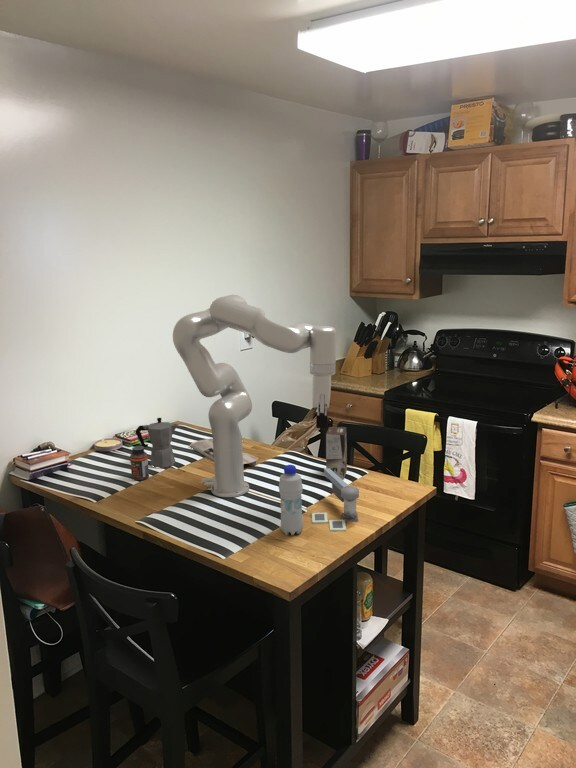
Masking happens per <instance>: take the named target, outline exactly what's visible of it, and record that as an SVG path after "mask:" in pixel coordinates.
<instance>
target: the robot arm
mask: <svg viewBox="0 0 576 768" xmlns="http://www.w3.org/2000/svg"><path fill="white" fill-rule="evenodd" d="M228 328H230V329H232V330H235V331H238V332H241V333H244V334H247V335H250V336H252V337H253V338H254V339H255V340H256V341H257V342H260V344H262V345H264V346H266V347H268V348H270V349H274V350H276V351H280V352H283V353H287V354H295V353H298V352H300V351H302V350H304V349H307V348H309V351H310V352H309V356H310V357H309V374H310V375H312V408H313V409H316V408H317V410H316V412H317V413H316V418H315V419H316V420H315V421H316V422H315V423H316V425H315V427H316V428H317V429H327V428H328V412H327V410H328V409H329V408H330V401H331V389H332V376H334V375H335V374H336V367H337V366H336V364H337V363H336V357H337V355H336V354H337V330H336V328H335V327H333V326H331V325H330V326H329V325H316V324H315V325H314V324H310V323H306V322H299V323H295V324H294V325H291V326H285V325H283V324H279V323H277V322H274V321H272V320H270V319H268V318H267V317H266V315H265V311H264V310H263V309H262V308H259V307H257V306H254V305H250V304H248V303H247V300H246V299H244V298H243V297H242V296H240V295H238V294H229V295H226V296H225V295H224V296H220V297H217V298H216V299H214V301H212V303H211V304H210V306H209V308H207V309H205V310H202V311H197V312H194V313H193V312H192V313H189V314H186V315H184V316H182V317H181V318H179V320H178V321H177V322H175V326H174V328H173V331H172V342H173V345H174V347H175V349H176V351H177V353H178V354H179V356H180V358H181V359H182V361H183V362H184V365H185V366H186V368H187V370H188V373H189V374H190V376H191V378H192V381H194V384H195V386H196V388H197V390H199V391H198V392H200V394H201V395H202V396H204V397H205V398H213V397H216V396H218V395H220V398H219V399H217V400H215V401H214V402H213V403H212V404H211V405H210V407H209V408H208V409H209V410H208V421H209V426H210V429H211V435H212V438H211V439H213V451H214V461H213V462H214V463H213V465H214V476H212V477H210V478H209V477H202V480H201V483H202V484H204V486H205V487H210V486H211V487H210V492H211V493H212V495H214V496H216V497H220V498H235V497H240V496H243V495H245V494H247V493H248V492H249V491H250V485H249V482H247V481H245V472H244V471H245V469H244V464H243V452H244V451H243V449H244V448H243V435H242V433H241V429H240V426H239V422H241V421H243V420H244V419H246V418H247V417H248V416H249V415H250V414H251V413H252V410H253V402H252V399H251V397H250V395H249V393H248V391H247V388H246V386H245V385H244V383H243V381H242V379H241V377H240V376H239V374H238V372H237V371H236V369H235V368H234V367H233V366H232V365H230V364H228V363H225V362H218V363H215V361H214V359H213V358H212V355H211V353H210V351H209V350H208V349H207V348H206V347H205V345H203V344H202V343H201V342H200V341H201V340H202V339H205V338H209V337H212V336H214V335H217V334H219V333H221V332H223V331H224V330H225V329H228Z"/></svg>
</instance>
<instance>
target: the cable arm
mask: <svg viewBox="0 0 576 768" xmlns="http://www.w3.org/2000/svg"><path fill="white" fill-rule="evenodd" d="M323 475H324V476H325V478H326V477H327V478H328V479H327V478H326V479H327V480H329V481H330V482H331V492H332V493H333V495H335V497H337V499H339V500H340V502H341V503H344V499H347V500H354V499H356V500H357V499H359V497H360V489H359V488H358V487H357V486H353V485H349V484H347V483H346V482H345V480H344V479H343V480H342V479H341V478H340V477H339V476H338V475H336V474H335V473H334V472H333V471H332V470H331V469H330V468H327V469H326V468H324V469H323Z"/></svg>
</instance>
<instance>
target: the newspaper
mask: <svg viewBox="0 0 576 768" xmlns="http://www.w3.org/2000/svg"><path fill="white" fill-rule="evenodd" d="M190 447H191V449H192V448H193V449H192V450H193V451H196V452H197V453H199V454H200V455H203V456H204V457H205V458H208V459H209V460H211V461H213V462H214V451H213V438H205V439H200V440H196V441H194V442H192V443H191V442H190V444H189V448H190ZM259 459H260V457H257V456H255V455H252V454H250V453H246V452H244V451H243V465H245V464H247V465H249V466H251V467H252V466H256V464H257V461H258V460H259Z"/></svg>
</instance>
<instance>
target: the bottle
mask: <svg viewBox="0 0 576 768" xmlns="http://www.w3.org/2000/svg"><path fill="white" fill-rule="evenodd" d="M278 481H279V482H278V490H279V491H278V493H279V494H280V529H281V531H282V532H283V533H284V534H285V535H287V536H288V535H289V533H290V534H291V536H294V535H295V534H297V535H299V534H300V533H301V532H302V530H303V527H304V525H303V524H304V521H303V508H302V507H303V506H302V494H303V482H302V477H301V475H300V474H299V473H297V467H296V465H294V464H288V465H287V464H286V465H285V466H284V468H283V474H281V475H280V476H279V479H278Z"/></svg>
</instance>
